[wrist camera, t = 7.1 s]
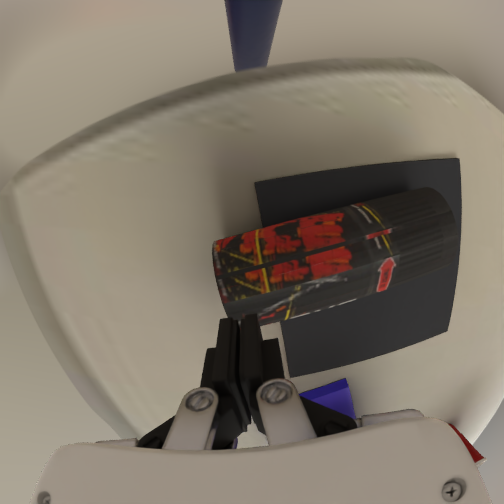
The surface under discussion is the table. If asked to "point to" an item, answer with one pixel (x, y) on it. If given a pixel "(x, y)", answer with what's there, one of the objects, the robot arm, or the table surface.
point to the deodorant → (334, 256)
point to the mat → (379, 304)
